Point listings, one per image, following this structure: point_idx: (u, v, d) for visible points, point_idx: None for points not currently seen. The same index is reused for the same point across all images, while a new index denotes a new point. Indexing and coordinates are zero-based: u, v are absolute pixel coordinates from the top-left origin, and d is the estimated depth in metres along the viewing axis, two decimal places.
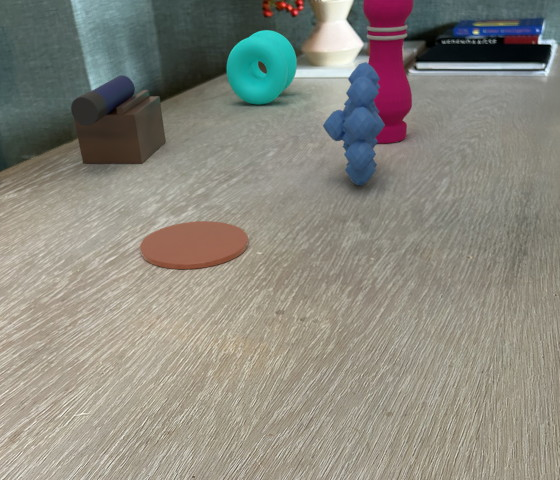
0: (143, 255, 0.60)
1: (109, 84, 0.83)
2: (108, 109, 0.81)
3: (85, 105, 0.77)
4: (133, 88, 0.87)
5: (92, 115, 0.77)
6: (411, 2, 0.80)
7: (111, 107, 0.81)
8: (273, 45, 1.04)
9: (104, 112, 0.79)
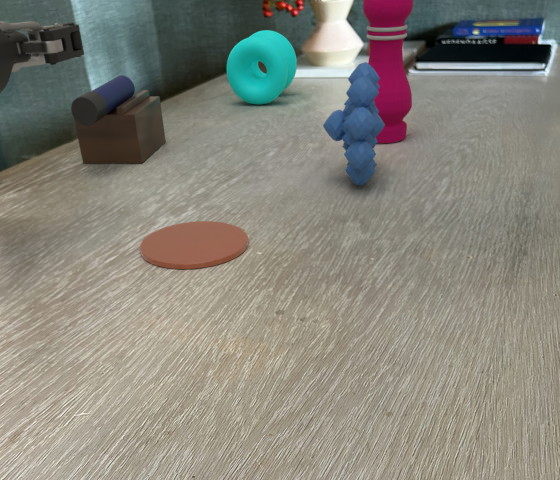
0: (143, 255, 0.60)
1: (109, 84, 0.83)
2: (108, 109, 0.81)
3: (85, 105, 0.77)
4: (133, 88, 0.87)
5: (92, 115, 0.77)
6: (411, 2, 0.80)
7: (111, 107, 0.81)
8: (273, 45, 1.04)
9: (104, 112, 0.79)
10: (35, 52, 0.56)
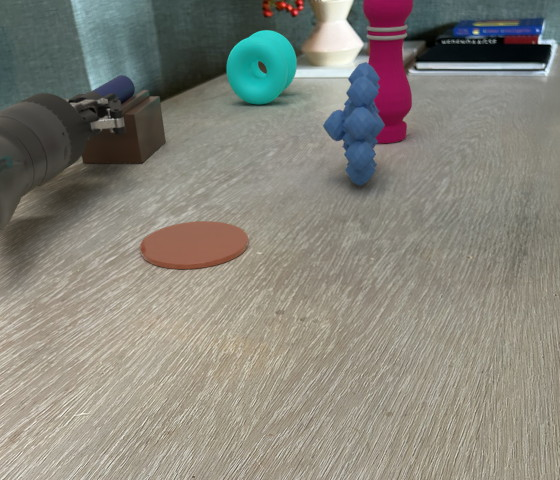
0: (143, 255, 0.60)
1: (109, 84, 0.83)
2: None
3: None
4: (133, 88, 0.87)
5: None
6: (411, 2, 0.80)
7: None
8: (273, 45, 1.04)
9: None
10: (108, 127, 0.72)
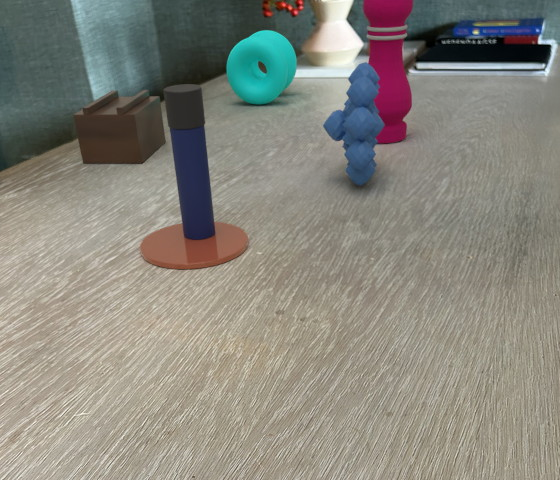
0: (143, 255, 0.60)
1: None
2: (199, 139, 0.58)
3: (188, 86, 0.57)
4: (214, 229, 0.63)
5: (191, 88, 0.56)
6: (411, 2, 0.80)
7: (201, 147, 0.58)
8: (273, 45, 1.04)
9: (199, 117, 0.57)
10: None
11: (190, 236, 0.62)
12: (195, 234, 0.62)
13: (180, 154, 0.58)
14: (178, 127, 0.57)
